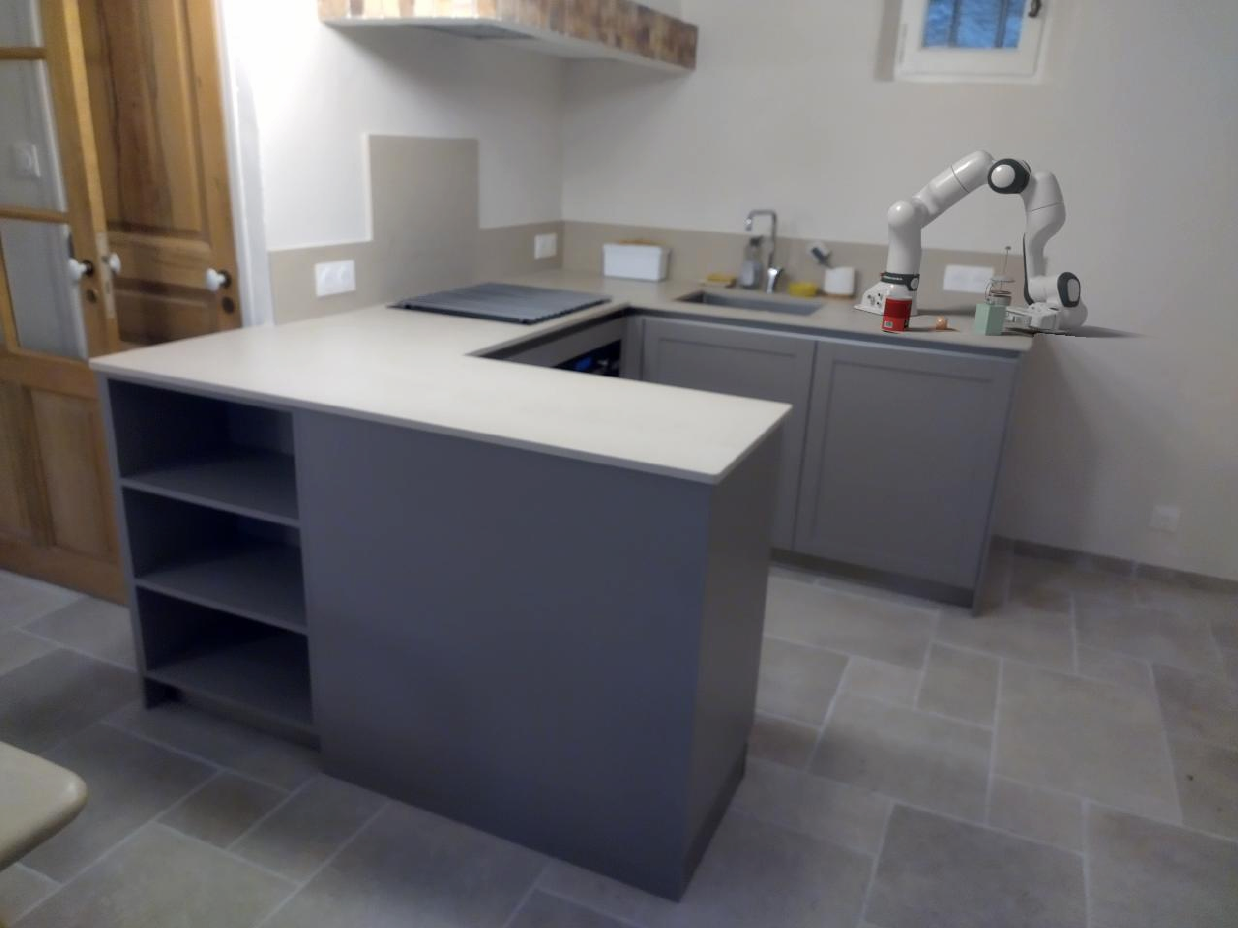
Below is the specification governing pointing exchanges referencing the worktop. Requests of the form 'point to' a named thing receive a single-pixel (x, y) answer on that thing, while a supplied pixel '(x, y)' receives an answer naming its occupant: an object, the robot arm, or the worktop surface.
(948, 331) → the trivet
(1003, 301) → the french press
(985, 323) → the mint green square bottle
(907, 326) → the canned food
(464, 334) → the worktop surface
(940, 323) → the ball
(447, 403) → the worktop surface
